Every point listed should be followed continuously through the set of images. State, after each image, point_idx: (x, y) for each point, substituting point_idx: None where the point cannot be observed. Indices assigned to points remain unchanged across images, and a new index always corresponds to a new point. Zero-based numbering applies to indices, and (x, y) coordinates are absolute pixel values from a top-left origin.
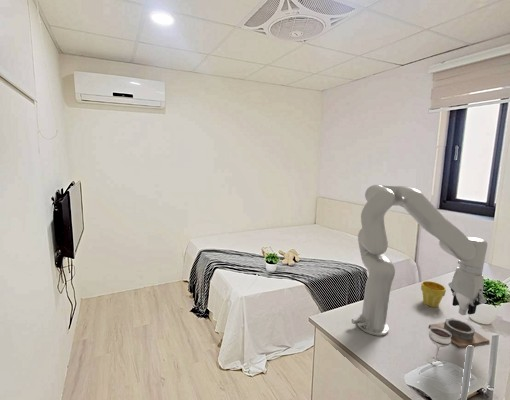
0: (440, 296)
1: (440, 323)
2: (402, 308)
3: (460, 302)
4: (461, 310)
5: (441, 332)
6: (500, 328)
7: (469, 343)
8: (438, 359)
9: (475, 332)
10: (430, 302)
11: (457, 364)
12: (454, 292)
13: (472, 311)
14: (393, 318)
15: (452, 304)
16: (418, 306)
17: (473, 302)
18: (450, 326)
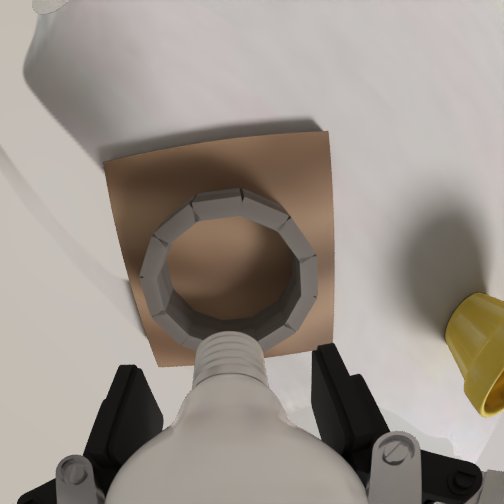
0: (471, 367)
1: (330, 224)
2: (481, 136)
3: (203, 422)
4: (214, 360)
5: None
6: None
7: (124, 245)
8: (60, 3)
9: None
10: (471, 311)
11: (24, 72)
12: (405, 488)
13: (99, 409)
14: (407, 2)
15: (334, 346)
16: (476, 242)
17: (59, 500)
18: (225, 209)
